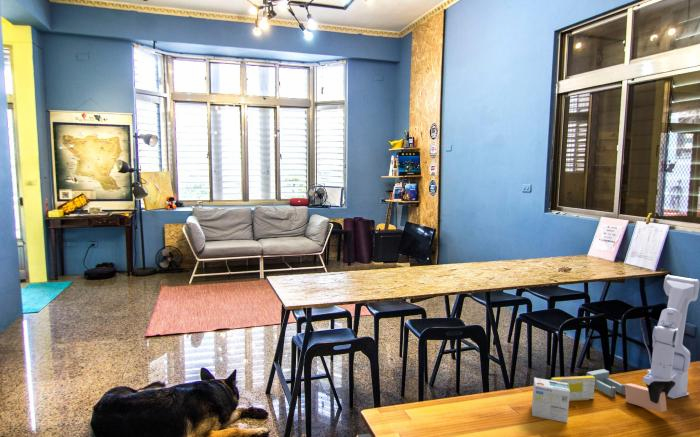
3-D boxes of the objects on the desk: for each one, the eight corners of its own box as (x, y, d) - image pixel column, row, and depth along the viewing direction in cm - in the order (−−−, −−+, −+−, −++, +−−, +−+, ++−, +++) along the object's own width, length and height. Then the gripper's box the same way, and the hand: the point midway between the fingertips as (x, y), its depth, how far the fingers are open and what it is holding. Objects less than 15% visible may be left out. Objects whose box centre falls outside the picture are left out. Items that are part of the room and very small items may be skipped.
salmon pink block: (631, 400, 159) (630, 383, 160) (666, 410, 148) (665, 392, 149) (626, 401, 158) (624, 384, 159) (660, 412, 147) (659, 393, 148)
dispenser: (602, 381, 173) (603, 368, 173) (627, 394, 164) (629, 381, 163) (585, 384, 170) (586, 372, 169) (610, 398, 160) (612, 384, 160)
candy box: (590, 397, 161) (592, 375, 160) (594, 400, 159) (596, 377, 158) (548, 399, 158) (550, 376, 157) (552, 402, 156) (554, 379, 155)
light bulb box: (565, 413, 149) (568, 382, 148) (567, 423, 143) (571, 391, 142) (530, 406, 153) (533, 376, 151) (531, 416, 146) (534, 385, 145)
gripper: (664, 354, 154) (659, 392, 156) (635, 360, 149) (631, 398, 150) (686, 363, 148) (681, 402, 150) (657, 369, 142) (652, 409, 144)
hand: (657, 401), depth 150 cm, fingers closed on salmon pink block, 3 cm apart
